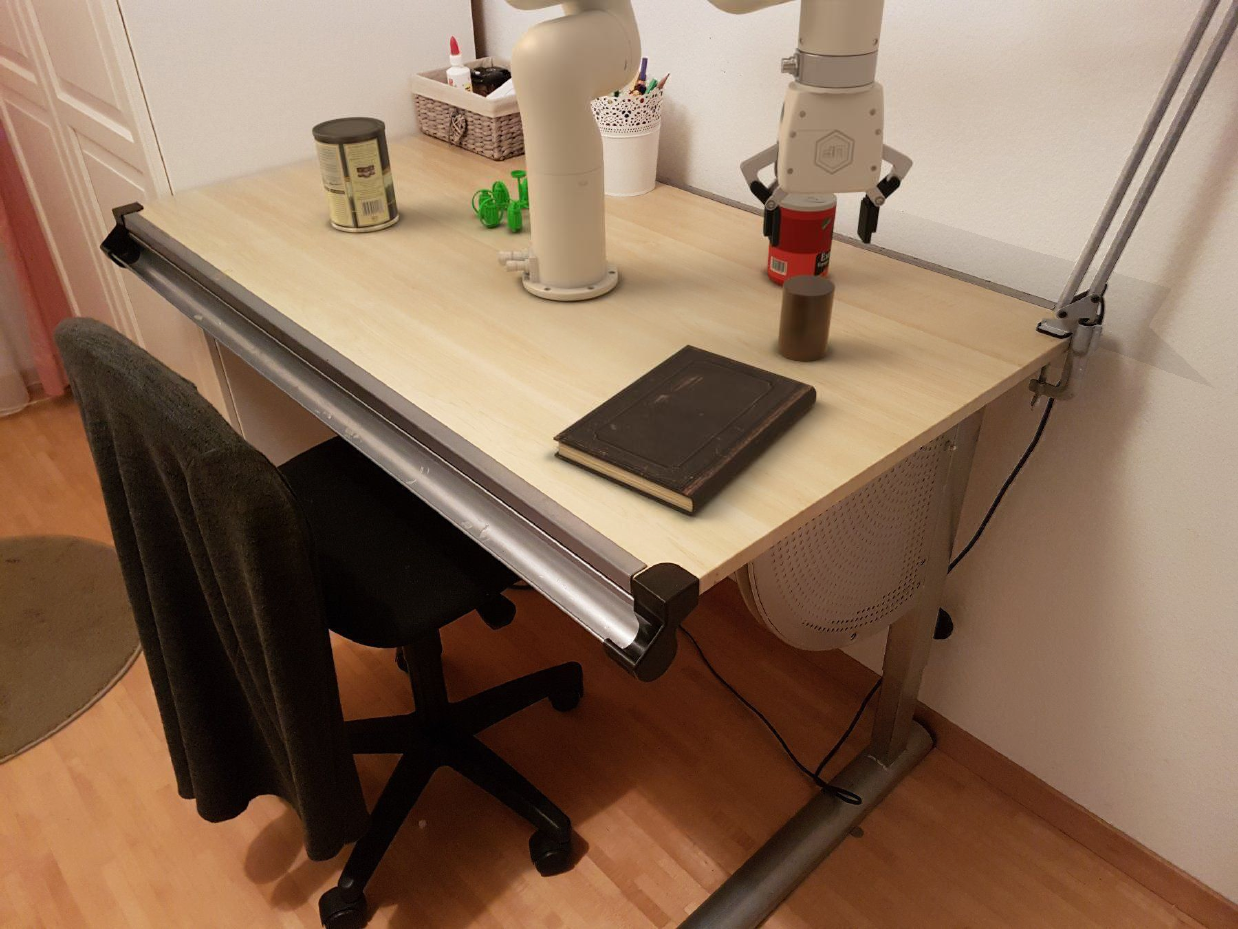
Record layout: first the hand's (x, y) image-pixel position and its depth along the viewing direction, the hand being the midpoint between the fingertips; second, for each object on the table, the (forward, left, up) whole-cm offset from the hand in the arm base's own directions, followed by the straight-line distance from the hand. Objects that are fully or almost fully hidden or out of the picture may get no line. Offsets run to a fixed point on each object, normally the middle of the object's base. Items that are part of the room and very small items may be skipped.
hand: (818, 240), depth 98 cm
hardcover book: (-15, -16, -13) cm, 26 cm away
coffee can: (-59, +44, -13) cm, 75 cm away
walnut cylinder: (0, 0, -13) cm, 13 cm away
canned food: (+3, +20, -13) cm, 24 cm away
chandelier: (-35, +44, -13) cm, 58 cm away
